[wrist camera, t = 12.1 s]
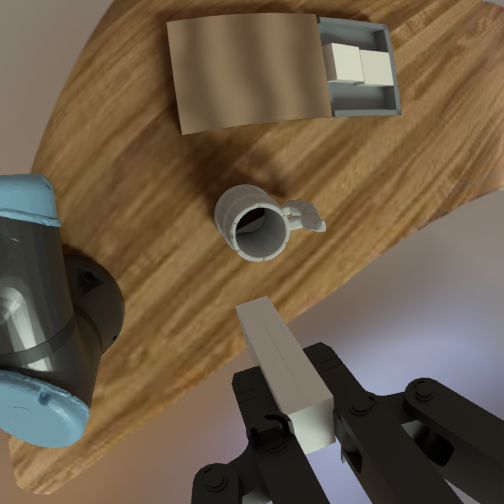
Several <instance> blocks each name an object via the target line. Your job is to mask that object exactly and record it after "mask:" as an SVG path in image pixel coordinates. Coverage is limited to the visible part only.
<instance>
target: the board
mask: <svg viewBox="0 0 504 504" xmlns="http://www.w3.org/2000/svg"><path fill="white" fill-rule="evenodd" d="M167 33H168V41H169V49H170V57H171V65H172V72H173V80H174V87H175V94H176V101H177V107H178V114H179V120H180V127H181V133H182V136H183V135H188V134H194V133H199V132H205V131H211V130H217V129H223V128H230V127H237V126H244V125H252V124H260V123H268V122H277V121H287V120H298V119H311V118H323V117H332V113H331V105H330V97H329V90H328V83H327V76H326V70H325V63H324V57H323V51H322V46H321V40H320V34H319V29H318V24H317V19H316V14H301V13H249V14H231V15H219V16H208V17H199V18H191V19H184V20H178V21H171V22H167Z"/></svg>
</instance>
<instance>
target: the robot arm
mask: <svg viewBox="0 0 504 504" xmlns="http://www.w3.org/2000/svg"><path fill="white" fill-rule="evenodd" d="M60 226H61V223H60V221H59V220H58V218H57V212H56V205H55V198H54V191H53V187H52V185H51V183H50V181H49V180H48V179H47V178H46V177H44V176H42V175H40V174H19V175H2V176H0V428H1V429H3V430H4V431H6V432H7V433H9V434H11V435H13V436H14V437H16V438H18V439H20V440H23V441H25V442H28V443H31V444H34V445H38V446H42V447H49V448H61V447H66V446H70V445H72V444H74V443H75V442H76V441H78V440H79V439H80V438H81V437H82V435H83V433H84V429H85V427H86V424H87V421H88V419H89V417H90V405H91V400H92V395H93V391H94V386H95V381H96V377H97V372H98V368H99V364H100V360H101V356H102V354H103V353H104V352H105V351H106V350H107V349H108V348H109V347H110V346H111V345H112V344H113V343H114V342H115V340H116V339H117V337H118V336H119V334H120V331H121V329H122V325H123V320H124V315H125V306H124V300H123V296H122V293H121V291H120V289H119V287H118V285H117V283H116V282H115V280H114V279H113V278H112V277H111V275H110V274H109V273H108V272H107V271H106V270H105V269H103V268H102V267H101V266H99V265H98V264H96V263H95V262H93V261H91V260H89V259H86V258H84V257H80V256H75V255H63V251H62V244H61V237H60V230H59V227H60ZM235 308H236V311H237V315H238V318H239V321H240V325H241V328H242V332H243V335H244V338H245V342H246V345H247V349H248V352H249V354H250V357H251V359H252V361H253V363H254V366H255V367H253V368H250V369H247V370H244V371H240V372H237V373H235V374H234V376H233V381H232V386H233V390H234V393H235V396H236V399H237V402H238V406H239V409H240V412H241V415H242V418H243V420H244V423H245V426H246V434H247V438H248V440H249V442H248V446H247V448H246V450H245V451H244V452H243V453H242V455H240V456H239V457H238V458H236V459H234V460H233V461H231V462H230V463H228V464H221V463H214V464H210V465H207V466H205V467H203V468H201V469H200V470H199V471H198V473H197V474H196V475H195V478H194V481H193V488H192V499H191V504H267V503H268V502H269V501H271V500H272V503H273V504H330V502H329V501H328V499H327V497H326V495H325V493H324V491H323V489H322V487H321V485H320V483H319V481H318V480H317V477H316V476H315V474H314V472H313V470H312V468H311V466H310V464H309V462H308V460H307V458H306V456H305V455H306V454H308V453H311V452H313V451H316V450H318V449H321V448H323V447H325V446H328V445H330V444H332V443H335V442H336V438H335V435H336V437H337V439H338V440H339V442H340V444H341V460H342V463H344V462H345V459H346V461H347V462H348V464H349V466H350V467H351V469H352V471H353V472H354V474H355V476H356V477H357V479H358V481H359V482H360V484H361V485H362V487H363V489H364V490H365V492H366V493H367V495H368V497H369V499H370V500H371V502H372V504H463V502H462V501H461V500H460V498H459V497H458V496H457V495H456V493H455V492H454V491H453V490H452V488H451V487H450V486H449V485H448V483H447V482H446V481H445V479H446V480H447V481H449V482H450V483H451V484H453V485H454V486H456V487H457V488H459V489H460V490H461V491H463V492H464V493H466V494H467V495H469V496H470V497H472V498H473V499H474V500H476V501H477V502H479V503H480V504H504V421H503V420H501V419H500V418H498V417H496V416H495V415H493V414H491V413H489V412H488V411H486V410H484V409H483V408H481V407H479V406H478V405H476V404H474V403H473V402H471V401H469V400H468V399H466V398H464V397H463V396H461V395H459V394H457V393H456V392H454V391H453V390H451V389H449V388H447V387H446V386H444V385H443V384H441V383H439V382H438V381H436V380H433V379H431V378H419V379H415V380H414V381H412V382H411V383H409V384H408V386H407V387H406V389H405V392H400V393H396V394H392V395H386V396H379V395H375V394H374V393H371V392H368V391H365V389H364V388H362V386H361V385H360V384H359V382H358V381H357V380H356V379H355V377H354V376H353V375H352V373H351V372H350V371H349V370H348V368H347V367H346V366H345V365H344V364H343V362H342V361H341V359H340V358H338V356H337V354H336V353H335V352H334V350H333V349H332V348H331V347H329V346H327V345H325V344H323V343H321V342H319V343H317V344H314V345H311V346H309V347H306V348H304V349H301V347H300V346H299V344H298V342H297V341H296V339H295V338H294V336H293V335H292V333H291V332H290V330H289V329H288V327H287V326H286V324H285V323H284V321H283V320H282V318H281V316H280V315H279V313H278V312H277V310H276V309H275V307H274V306H273V304H272V303H271V301H270V300H269V298H268V297H267V296H265V297H262V298H259V299H256V300H253V301H249V302H246V303H243V304H240V305H237V306H235Z"/></svg>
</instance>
